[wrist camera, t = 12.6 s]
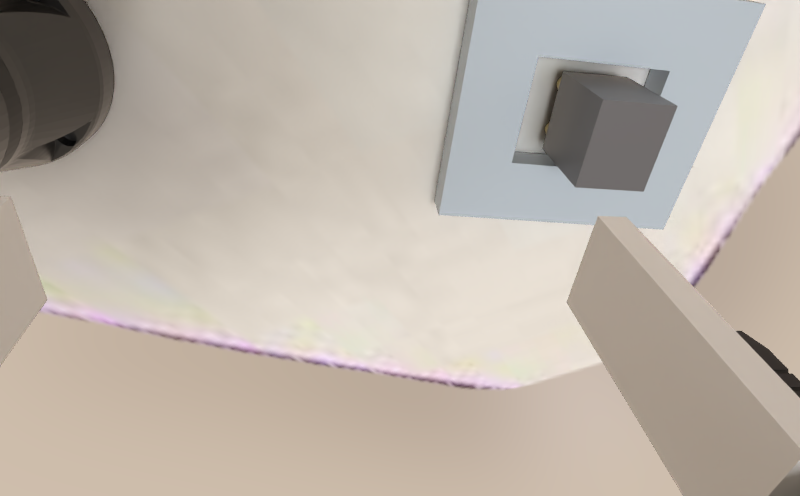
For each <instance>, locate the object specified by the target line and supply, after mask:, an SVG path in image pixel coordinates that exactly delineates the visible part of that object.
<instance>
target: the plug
mask: <svg viewBox="0 0 800 496" xmlns="http://www.w3.org/2000/svg"><path fill="white" fill-rule="evenodd" d="M557 88H558V92H557V96H556V100H555V104H554V107H553V111H552V115H551V118H550V122H549V123H548V124H547V125H546V127H545V133H546V137H545V141H544V144H543V148H542V149H543V150H544V151H545V152H546V154H547V155H548V156H549V157H550V158H551V159H552V161H553V162H554V163H555V164H556V165H557V167H558V168H559V169H560V170H561V171H562V172H563V174H564V175H565V176H566V177H567V178H568V180H569V181H570V182H571V183H572V184H573V185H574V187H576V188H592V189H608V190H624V191H640V192H644V190H645V187H646V185H647V182H648V179H649V177H650V174H651V172H652V169H653V167H654V164H655V162H656V159H657V157H658V154H659V152H660V149H661V147H662V144H663V142H664V139H665V137H666V134H667V132H668V129H669V127H670V124H671V122H672V119H673V117H674V114H675V112H676V109H677V107H678V106H677V105H675V104H674V103H672V102H670V101H668V100H666V99H665V98H663V97H661V96H659V95H658V94H656V93H654V92H652V91H650V90H649V89H647V88H645V87H643V86H642V85H640V84H638V83H636V82H635V81H633V80H631V79H629V78H627V77H619V76H609V75H598V74H587V73H576V72H566V71H563V74H562V77H561V78H559V80H558V81H557Z"/></svg>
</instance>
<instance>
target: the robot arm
mask: <svg viewBox="0 0 800 496" xmlns="http://www.w3.org/2000/svg"><path fill="white" fill-rule="evenodd" d="M113 89H114V75H113V66H112V60H111V56H110V52H109V49H108V45H107V43H106V40H105V37H104V35H103V33H102V30H101V28H100V26H99V24H98V22H97V20H96V19H95V17H94V15H93V14H92V12H91V10H90V9H89V7H88V6H87V4H86V3H85V2H84V0H0V172H3V171H9V170H15V169H21V168H27V167H33V166H39V165H43V164H47V163H50V162H53V161H55V160H58V159H60V158H62V157H64V156H66V155H68V154H70V153H71V152H73V151H74V150H76V149H77V148H78V147H79V146H80V145H82V144H83V143H84V142H85V141H86V140H88V139H89V138H90V137H91V136H92V135H93V134H94V133H95V132H96V131H97V130H98V129H99V127H100V126H101V124H102V123H103V121H104V120H105V118H106V116H107V114H108V111H109V108H110V105H111V102H112V97H113ZM46 301H47V298H46V295H45V292H44V289H43V286H42V283H41V280H40V278H39V275H38V272H37V269H36V266H35V263H34V261H33V258H32V255H31V252H30V249H29V246H28V244H27V241H26V238H25V235H24V232H23V229H22V227H21V224H20V221H19V218H18V215H17V212H16V209H15V207H14V204H13V201H12V198H11V197H5V196H0V366H1V364H2V363H3V362H4V360H5V359H6V358H7V356H8V355H9V353H10V352H11V351H12V349H13V348H14V346H15V345H16V343H17V342H18V341H19V339H20V338H21V336H22V335H23V333H24V332H25V331H26V329H27V328H28V327H29V325H30V324H31V322H32V321H33V319H34V318H35V317H36V315H37V314H38V312H39V311H40V310H41V308H42V307H43V305H44V304H45V303H46ZM567 304H568V305H569V307H570V309H571V310H572V312H573V314H574V315H575V317H576V319H577V320H578V322H579V324H580V325H581V327H582V329H583V330H584V332H585V334H586V335H587V337H588V339H589V340H590V342H591V344H592V345H593V347H594V349H595V350H596V352H597V354H598V355H599V357H600V359H601V360H602V362H603V364H604V365H605V367H606V369H607V370H608V372H609V373H610V375H611V377H612V379H613V380H614V382H615V384H616V385H617V387H618V389H619V390H620V392H621V393H622V395H623V397H624V399H625V400H626V402H627V403H628V405H629V407H630V408H631V410H632V412H633V413H634V415H635V417H636V418H637V420H638V422H639V423H640V425H641V427H642V428H643V430H644V432H645V433H646V435H647V437H648V438H649V440H650V442H651V443H652V445H653V447H654V448H655V450H656V452H657V453H658V455H659V457H660V458H661V460H662V462H663V463H664V465H665V467H666V468H667V470H668V472H669V473H670V475H671V477H672V478H673V480H674V482H675V483H676V485H677V487H678V488H679V490H680V492H681V493H682V495H683V496H800V381H799V380H798V379H797V378H796V377H795V376H794V375H793V374H789V373H788V369H787V368H786V367H785V366H784V365H783V364H782V363H781V362H780V361H779V360H778V359H777V358H776V357H775V356H774V355H773V353H772V352H771V351H770V350H769V349H767V348H766V347H764V346H763V345H761V344H760V343H758V342H757V341H755V340H754V339H753V338H751V337H749V336H748V335H747V334H745V333H744V332H742V331H735V330H734V329H733V328H732V327H731V326H730V325H729V324H728V323H727V321H726V320H725V319H724V318H723V317H722V316H721V315H720V314H719V313H718V312H717V311H716V310H715V309H714V308H713V307H712V306H711V305H710V304H709V303H708V302H707V301H706V300H705V298H704V297H703V296H702V295H701V294H700V293H699V292H698V291H697V290H696V289H695V288H694V287H693V286H692V285H691V284H690V283H689V282H688V281H687V280H686V279H685V278H684V277H683V275H682V274H681V273H680V272H679V271H678V270H677V269H676V268H675V267H674V266H673V265H672V264H671V263H670V262H669V261H668V260H667V259H666V258H665V257H664V256H663V255H662V254H661V253H660V251H659V250H658V249H657V248H656V247H655V246H654V245H653V244H652V243H651V242H650V241H649V240H648V239H647V238H646V237H645V236H644V235H643V234H642V233H641V232H640V231H639V230H638V228H637V227H636V226H635V225H634V224H633V223H632V222H631V221H630V220H629V219H628V218H627V217H614V216H598V217H597V220H596V223H595V225H594V228H593V231H592V234H591V237H590V239H589V242H588V245H587V248H586V250H585V253H584V256H583V259H582V261H581V264H580V267H579V270H578V272H577V275H576V278H575V281H574V283H573V286H572V289H571V292H570V294H569V297H568V300H567Z"/></svg>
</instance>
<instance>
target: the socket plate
mask: <svg viewBox="0 0 800 496" xmlns="http://www.w3.org/2000/svg"><path fill="white" fill-rule="evenodd" d="M765 5H766V4H764V3H759V2H754V1H749V0H469V6H468V12H467V17H466V23H465V29H464V35H463V40H462V46H461V52H460V58H459V63H458V69H457V75H456V81H455V86H454V92H453V98H452V104H451V109H450V115H449V121H448V127H447V132H446V138H445V144H444V149H443V155H442V161H441V167H440V172H439V178H438V184H437V190H436V195H435V204H436V207H437V210H438V214H439V215H449V216H465V217H480V218H495V219H511V220H526V221H541V222H557V223H572V224H587V225H595V223H596V220H597V217H598V216H614V217H627V218H628V219H629V220H630V221H631V222H632V223H633V224H634V225H635V226H636V227H637V228H648V229H664V227H665V225H666V222H667V220H668V218H669V216H670V214H671V211H672V209H673V207H674V205H675V203H676V200H677V198H678V196H679V194H680V192H681V189H682V187H683V185H684V183H685V181H686V178H687V176H688V174H689V172H690V170H691V167H692V165H693V163H694V161H695V159H696V156H697V154H698V152H699V150H700V148H701V146H702V143H703V141H704V139H705V137H706V135H707V132H708V130H709V128H710V126H711V124H712V121H713V119H714V117H715V115H716V113H717V110H718V108H719V106H720V104H721V102H722V99H723V97H724V95H725V93H726V91H727V88H728V86H729V84H730V82H731V80H732V77H733V75H734V73H735V71H736V69H737V66H738V64H739V62H740V60H741V58H742V55H743V53H744V51H745V49H746V47H747V44H748V42H749V40H750V38H751V36H752V34H753V31H754V29H755V27H756V25H757V23H758V20H759V18H760V16H761V14H762V12H763V9H764V7H765ZM538 57H548V58H557V59H566V60H575V61H584V62H593V63H602V64H611V65H620V66H629V67H638V68H647V69H650V72H649V75H648V77H647V80H646V83H645V86H644V87H645V88H647V89H649V90H650V91H652V92H654V93H656V94H658V95H659V96H661V97H663V98H665V99H666V100H668V101H670V102H672V103H674V104H675V105H677V106H678V107H677V109H676V112H675V114H674V117H673V119H672V122H671V124H670V127H669V129H668V132H667V134H666V137H665V139H664V142H663V144H662V147H661V149H660V152H659V154H658V157H657V159H656V162H655V164H654V167H653V169H652V172H651V174H650V177H649V179H648V182H647V185H646V187H645V190H644V192H640V191H624V190H608V189H592V188H576V187H574V185H573V184H572V183H571V182H570V181H569V180H568V178H567V177H566V176H565V175H564V174H563V172H562V171H561V170H560V169H559V168H558V167H557V165H556V164H555V163H554V162H553V161H552V159H551V158H550V157H549V156H548V155H547V154H536V153H524V152H515V148H516V144H517V140H518V136H519V132H520V128H521V124H522V120H523V116H524V112H525V109H526V105H527V101H528V97H529V93H530V89H531V85H532V81H533V77H534V73H535V69H536V65H537V61H538Z"/></svg>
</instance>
